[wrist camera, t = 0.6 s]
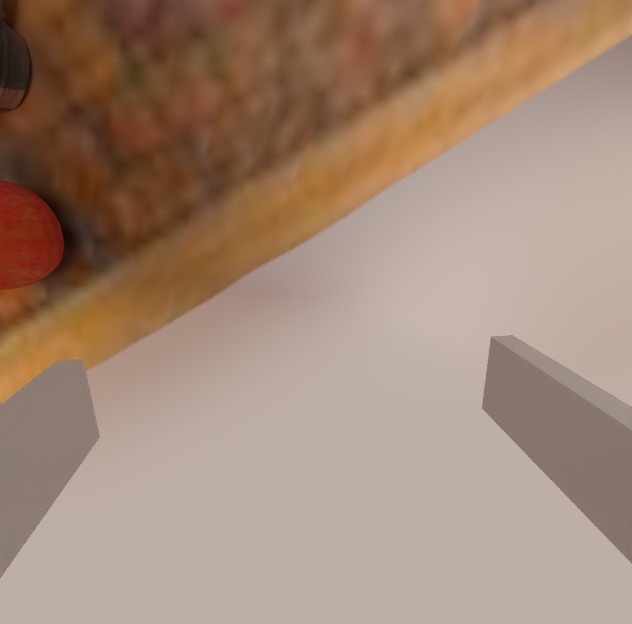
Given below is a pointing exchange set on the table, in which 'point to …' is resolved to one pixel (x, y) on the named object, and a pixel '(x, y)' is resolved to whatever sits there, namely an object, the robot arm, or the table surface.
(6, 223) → the apple
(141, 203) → the table surface
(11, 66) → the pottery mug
